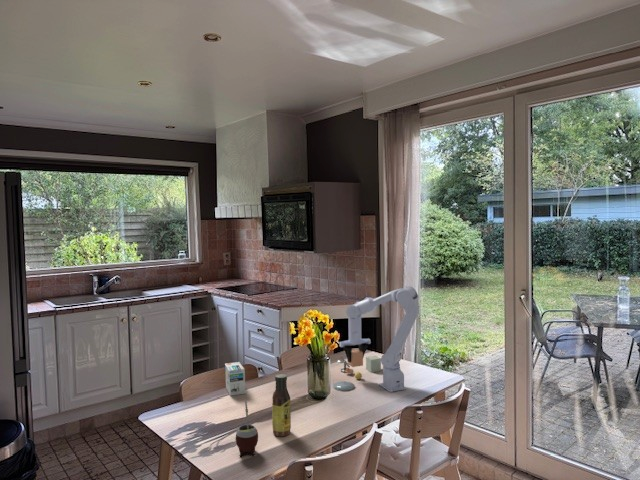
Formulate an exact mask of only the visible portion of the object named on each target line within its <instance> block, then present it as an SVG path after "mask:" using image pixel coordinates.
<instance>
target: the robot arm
mask: <svg viewBox="0 0 640 480" xmlns="http://www.w3.org/2000/svg"><path fill="white" fill-rule="evenodd" d="M391 301H392V302H395V303H396V302H397V303H398V304H399V305H400V306H401V307H402V308H403V310H404V312H405V313H404V316H403V317H402V320H401V322H400V325H399V327H398V329H397V331H396V333H395V334H394V338H393V339H392V341H391V344H390V345H389V346H388V348H387V350H386V351H385V353H384V354H383V355H382V356H381V357H380V358H381V366H382V382H380V383H379V384H378V385H379V386H380V387H382V388H383V389H385V390H387V392H389V393H392V392H398V391H399V392H400V391H404V390H406V389H407V387H406V386H405V374H404V372H403V371H402V370H401V365H400V361H401V360H402V352H403V348H404V345H405V343H406V341H407V339H408V338H409V334H410V333H411V331H412V328H413V326H414V324H415V322H416V320H417V318H418V316H419V314H420V309H419V308H420V307H419V294H418V292H417V290H416V289H415V288H414V287H413V286H410V285H409V286H405V287H403V288H397V289H394V290H391V291H389V292H387V293H385V294H382V295H380V296H377V297H375V298H373V297H370V296H369V297H368V296H367V297H365V298H364V299H363V300H361V301H355V303H354V304H350V305H349V306H348V307H347V308H346V312H345V313H346V315H347V317H348V322H347V323H348V339H347V340H343V341H339V342H338V344H339V347H340V348H343V350H344V353H345V355H346V358H347V360H348V361H347V360H346V361H347V363H348V362H349V363H350V362H351V351H352V350H353V348H352V347H351V346H358V350H360V351H362V352H363V358H364V357H365V353H366V351H367V349H368V346H369V345H370V344H371V343H372V342H371V339H370V338H369V337H368V338H362V315H363V316H364V315H365V314H367V313H370V312H373V311H375V310H376V309H377V306H379V305H382V304H385V303H388V302H391Z"/></svg>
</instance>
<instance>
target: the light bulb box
mask: <svg viewBox="0 0 640 480" xmlns="http://www.w3.org/2000/svg"><path fill="white" fill-rule="evenodd" d="M224 365H225V366H224V367H225V368H224V371H225V372H224V373H225V388H226V391H227V392H228V394H229V396H237V395H243V394H244V395H245V394H246V371H245V370H246V369H245V367H244V366H243V365H242V364H241V361H238V362H237V361H236V362H235V361H234V362H229V363H224Z"/></svg>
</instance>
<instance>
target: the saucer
mask: <svg viewBox="0 0 640 480" xmlns="http://www.w3.org/2000/svg"><path fill="white" fill-rule="evenodd" d="M332 386H333V389H334V390H336V391H340V392H347V391H348V392H349V391H351V390H354V389H355V384H354V383H352V382H351V381H344V380H343V381H336V382H335V383H333V385H332Z"/></svg>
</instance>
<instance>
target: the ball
mask: <svg viewBox="0 0 640 480" xmlns="http://www.w3.org/2000/svg"><path fill="white" fill-rule="evenodd" d="M354 378H355V379H356V380H361V379H362V378H363V375H362V373H361V372H360V371H356V372H355V373H354Z"/></svg>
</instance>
